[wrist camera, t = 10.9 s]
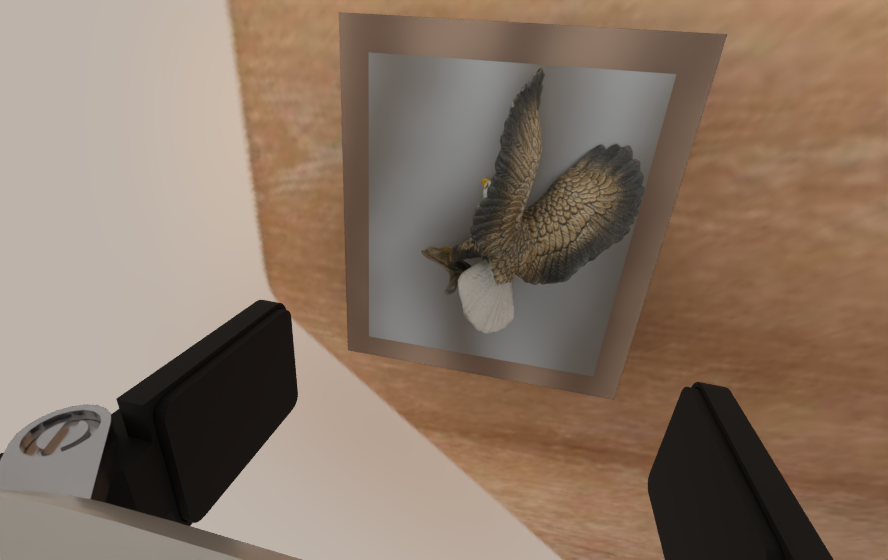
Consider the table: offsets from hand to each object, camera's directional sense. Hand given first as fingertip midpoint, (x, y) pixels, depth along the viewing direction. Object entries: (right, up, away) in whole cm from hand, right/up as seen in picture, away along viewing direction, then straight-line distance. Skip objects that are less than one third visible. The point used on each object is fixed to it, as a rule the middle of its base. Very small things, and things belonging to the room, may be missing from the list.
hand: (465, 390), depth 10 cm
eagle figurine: (+1, +7, +8) cm, 11 cm away
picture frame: (+3, +6, +14) cm, 15 cm away
